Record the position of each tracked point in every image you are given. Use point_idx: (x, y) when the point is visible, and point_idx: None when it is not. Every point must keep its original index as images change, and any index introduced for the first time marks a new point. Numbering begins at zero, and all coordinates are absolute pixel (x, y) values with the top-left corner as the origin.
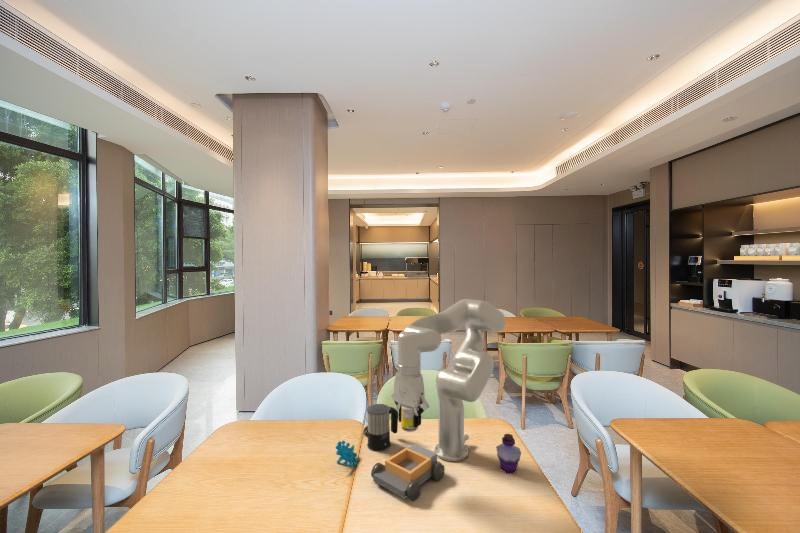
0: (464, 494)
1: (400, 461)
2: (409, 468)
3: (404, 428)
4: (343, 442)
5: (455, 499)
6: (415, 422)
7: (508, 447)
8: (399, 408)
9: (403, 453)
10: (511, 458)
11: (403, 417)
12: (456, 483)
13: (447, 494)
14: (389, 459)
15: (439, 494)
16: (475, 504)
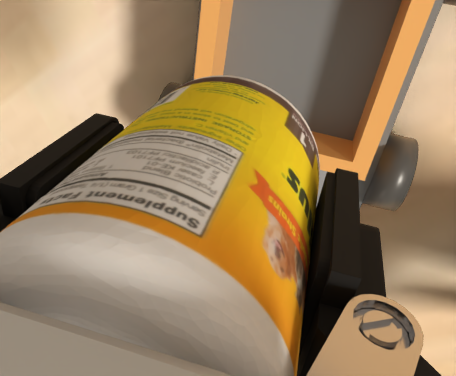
0: (63, 64)
1: (369, 92)
2: (295, 60)
3: (235, 82)
4: None
5: (69, 16)
6: (63, 143)
7: None
8: (348, 312)
9: (362, 131)
10: None
11: (209, 142)
12: (119, 113)
13: (108, 30)
14: (418, 9)
15: (132, 11)
16: (5, 29)
